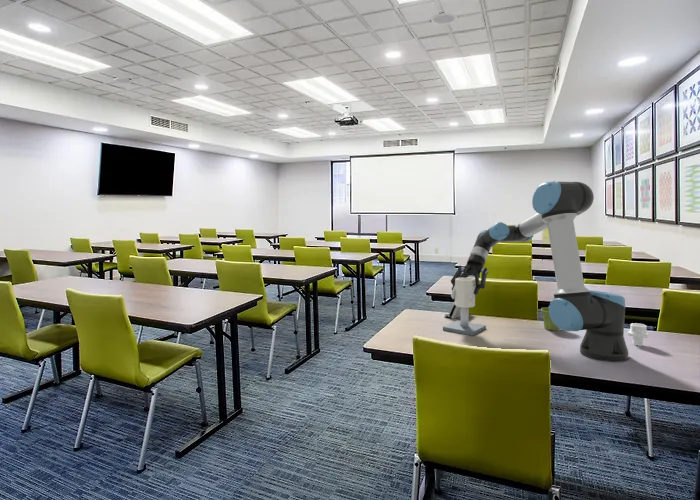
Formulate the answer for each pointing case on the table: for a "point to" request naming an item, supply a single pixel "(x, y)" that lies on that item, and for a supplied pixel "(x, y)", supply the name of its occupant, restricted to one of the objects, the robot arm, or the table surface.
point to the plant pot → (548, 320)
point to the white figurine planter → (638, 333)
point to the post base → (465, 329)
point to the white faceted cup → (464, 292)
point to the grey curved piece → (454, 311)
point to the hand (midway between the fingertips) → (461, 298)
